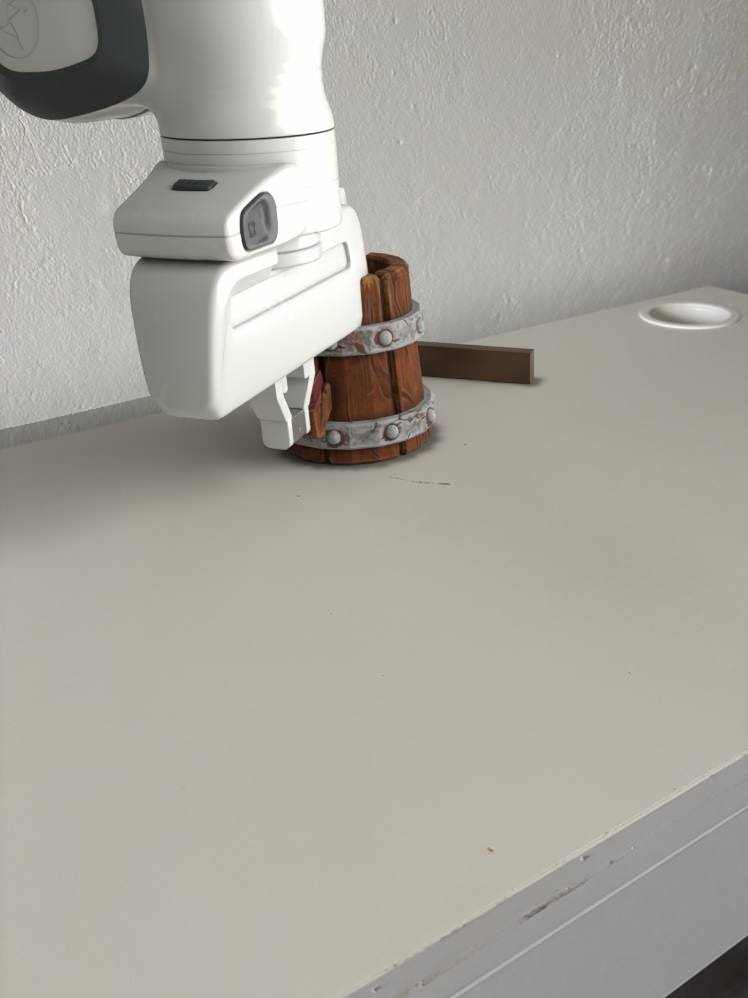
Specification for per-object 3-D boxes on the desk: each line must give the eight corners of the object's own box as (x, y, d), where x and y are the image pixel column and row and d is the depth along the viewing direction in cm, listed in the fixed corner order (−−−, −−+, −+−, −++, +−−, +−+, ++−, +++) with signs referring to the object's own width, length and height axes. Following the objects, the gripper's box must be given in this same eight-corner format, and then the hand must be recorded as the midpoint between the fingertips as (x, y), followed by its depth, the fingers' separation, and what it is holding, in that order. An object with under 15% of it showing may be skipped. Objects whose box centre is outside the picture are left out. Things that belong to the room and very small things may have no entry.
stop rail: (369, 371, 86) (366, 341, 85) (374, 367, 87) (372, 337, 86) (530, 384, 83) (530, 353, 81) (534, 379, 84) (534, 348, 82)
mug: (467, 408, 77) (448, 202, 67) (400, 515, 67) (366, 292, 57) (324, 396, 80) (286, 198, 70) (240, 497, 70) (182, 282, 60)
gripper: (292, 163, 64) (315, 383, 71) (88, 225, 47) (146, 502, 54) (386, 165, 62) (401, 390, 69) (209, 230, 45) (253, 516, 53)
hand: (287, 441), depth 62 cm, fingers closed
